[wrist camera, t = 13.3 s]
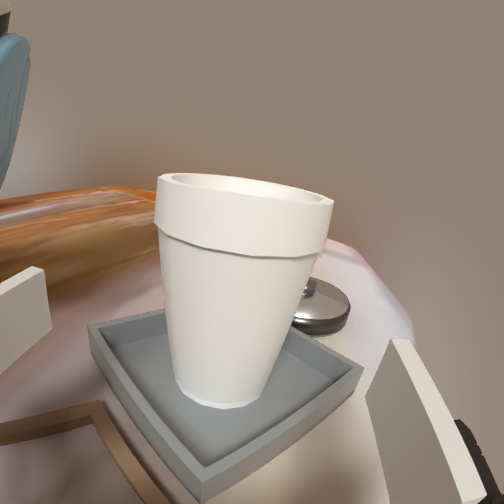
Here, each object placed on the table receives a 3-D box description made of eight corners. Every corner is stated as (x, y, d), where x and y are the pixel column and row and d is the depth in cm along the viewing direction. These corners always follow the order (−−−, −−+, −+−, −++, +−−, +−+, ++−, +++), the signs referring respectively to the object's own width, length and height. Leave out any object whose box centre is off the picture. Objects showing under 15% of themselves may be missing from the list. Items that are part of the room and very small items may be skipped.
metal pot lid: (229, 302, 33) (233, 270, 32) (291, 284, 40) (297, 258, 39) (307, 352, 26) (317, 317, 25) (361, 318, 33) (370, 290, 32)
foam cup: (227, 328, 27) (248, 176, 23) (312, 384, 21) (362, 205, 17) (128, 361, 20) (129, 171, 16) (210, 451, 14) (243, 204, 10)
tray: (91, 353, 20) (87, 325, 20) (230, 315, 30) (234, 291, 29) (200, 504, 11) (202, 482, 10) (353, 393, 21) (364, 367, 20)
